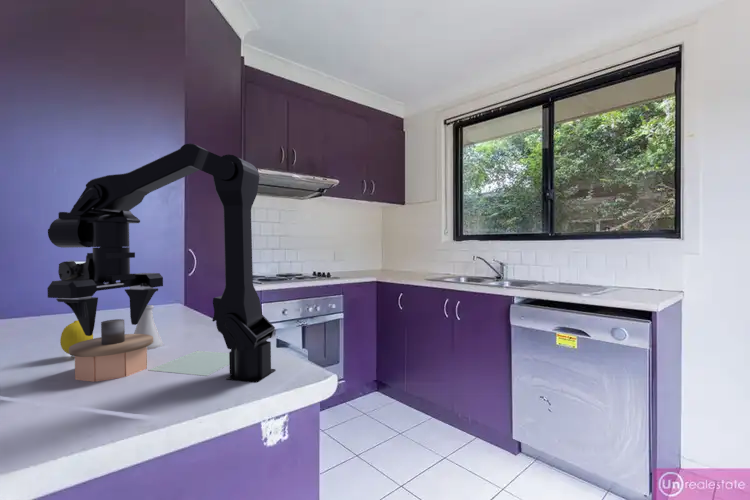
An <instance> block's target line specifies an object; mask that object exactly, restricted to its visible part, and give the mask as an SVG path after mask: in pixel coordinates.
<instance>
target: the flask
mask: <svg viewBox="0 0 750 500" xmlns="http://www.w3.org/2000/svg"><path fill="white" fill-rule="evenodd" d="M154 308H155V306H154V305H152V304H147V306H146V308H145V310H144V312H143V314H142V316H141V318H140V320H139V322H138V324H136V326H135V327H136V328H135V330H134V333H133V334H147V335H151V336H153V343H152V344H151V345H149V346H147V351H149V350H154V349H157V348H160V347H164V346H165V344H164V342H163V339H162V337H161V335H160V333H159V331H158V328H157V325H156V323H155V320H154V316H153V310H154Z"/></svg>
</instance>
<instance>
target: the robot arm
mask: <svg viewBox="0 0 750 500" xmlns="http://www.w3.org/2000/svg"><path fill="white" fill-rule="evenodd" d="M198 171H202V172H204V173H206V174H208V175H210V176H212V179H213V184H214V188H215V192H216V195H217V196H218V198H219V201H220V203H221V205H222V207H223V208H222V209H223V235H224V236H223V239H224V240H223V241H224V242H223V243H224V246H223V247H224V274H225V275H224V283H225V285H224V288H223V289H224V290H223V292H222V295H219V296H216V297H213V298H212V307H213V318H212V320H211V321H212V322H215V324H216V330H217V332H218V333H220V334H221V335H222V337H223V339H224V342H225V345H226V348H227V350H230V351H229V352H228V353H229V365H228V366H229V367H228V369H229V370H228V371H229V374H230V375H228V376H226V377H225V380H226V381H235V382H245V383H256V384H257V383H259V382H261V381H262V380H264V379H266V378H267V377H269V376H270V375H272V374H273V373H274V372H276V368H272V348H271V347H272V341H268V340H269V339H271V338H273V335H274V332H275V329H276V327H275V325H273V324H272V323H271V321H270V320H269V319H267V318H266V317H265V316H264V314H263V309H262V306H261V300H260V297H259V295H258V293H257V291H256V288H255V285H254V279H253V278H254V275H253V273H254V271H253V243H252V242H253V239H252V237H253V236H252V229H253V228H252V207H253V204H254V202H255V200H256V197H257V196H258V189H259V182H260V173H259V170H258V169H257V167H256V166H254V164H252V163H250V162H249V161H247V160H244V159H242V158H240V157H238V156H236V155H233V154H229V153H228V154H224V155H223V154H222V156H221V155H218V154H216V153H214V152H211V151H209V150H207V149H205V148H203V147H201V146H199V145H197V144H195V143H186V144H185V143H184V144H183V145H181V147H180V148H179V149H176V150H174V151H172V152H169V153H167V154H166V155H163V156H161V157H160V158H157V159H155V160H153V161H151V162H148V163H146V164H144V165H142V166H140V167H138V168H135V169H133V170H131V171H129V172H126V173H118V174H108V175H107V174H106V175H103V176H100V177H96V178H92V179H90V180H89V181H88V182H86V184H85V188H84V190H83V191H82V193H81V194H80V196H79V198H78V199H77V201H76V202H75V204H74V205H73V207H72V208H71V209H70V211H68V212H67V211H59V212H58V214H57V215H58V218H55V219H54V220H53V221H52V222H51V223H50V225H49V227H48V229H47V236H48V239H49V241H50V242H51V243H52V244H53V245H54V246H55V247H58V248H61V249H62V248H65V249H67V248H71V249H73V248H91V249H92V252H87V253H86V256H85V262H82V263H81V262H80V263H76V261H74V260H71V261H67V260H66V261H62V262H60V263H58V271H57V272H58V276H59V279H60V280H52V281H51V283H50V284H49V285H48V287H47V298H48V299H49V298H50V299H56V301H57V302H58V303H64V304H65V305H67V306H68V307H69V308H70V309H71V311H72V312H73V314H74V316H75V317H76V319H77V320H78V321H79V323H80V325H81V327H82V329H83V331H84V333H85V335H86V336H91V335H92V334H93V335H94V329H95V325H96V324H95V323H96V317H97V310H98V301H99V297H98V296H97V297H96V296H95V297H94V294H96V292H99V291H107V290H113V289H121V288H122V289H123V288H126V289H124V292H125V294H127V296H128V298H129V313H130V315H129V316H130V322H131V325H134V326H135V325H136V326H137V324H138V322H139V320H140V318H141V316H142V314H143V312H144V310H145V308H146V306H147V305H149V302H150V301H151V300H152V298H153V296H154V295H155V293H156V292H158V291H159V288H160V287H164V278H163V275H161V273H159V272H140V273H131V259H132V258H134V259H135V258H136V252H135V251H133V252H131V251H130V224H139V223H141V219H139V217H137V216H136V215H134V214H133V213H132V212H131V210H132V209H135V207H137V206H138V205H140V204H141V203H142V202H143V200H144V198H145V197H146V196H147V195H149V194H150V193H152V192H155V191H157V190H159V189H161V188H163V187H166V186H167V185H169V184H173V183H174V182H176V181H178V180H181V179H182V178H183V179H184V178H185V177H187V176H189V175H191V174H194V173H196V172H198Z"/></svg>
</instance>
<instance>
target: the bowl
mask: <svg viewBox="0 0 750 500" xmlns="http://www.w3.org/2000/svg"><path fill="white" fill-rule="evenodd" d="M147 368H148V350H147V347H144V348H141V349H138V350H134V351H130V352H126V353H120V354H114V355H107V356H96V357H77V356H74V378H75V379H74V380H76V381H84V382H102V381H109V380H114V379H120V378H121V379H122V378H126V377H129V376H132V375H134V374H136V373H139V372H141V371H144V370H146V369H147Z"/></svg>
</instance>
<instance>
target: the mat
mask: <svg viewBox="0 0 750 500" xmlns="http://www.w3.org/2000/svg"><path fill="white" fill-rule="evenodd" d="M227 366H229V352H219V351H205V350H196V351H193V352H190V353H188V354H186V355H182V356H181V357H178V358H176V359H173V360H170V361H168V362H164V363H163V364H160V365H158V366H155V367H153V368H150V369H148V371H150V372H163V373H170V374H172V373H173V374H180V375H181V374H182V375H192V376H193V375H194V376H200V377H201V376H202V377H204V376H205V377H208V376H210V375H212V374H214V373H216V372H218V371H220V370H221V369H224V368H225V367H227Z"/></svg>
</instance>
